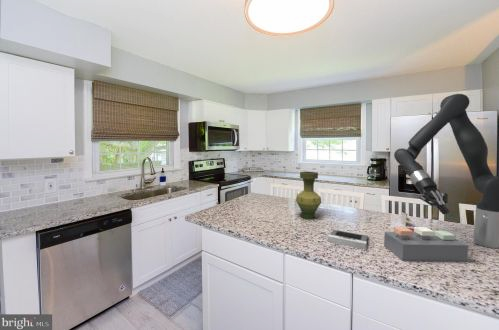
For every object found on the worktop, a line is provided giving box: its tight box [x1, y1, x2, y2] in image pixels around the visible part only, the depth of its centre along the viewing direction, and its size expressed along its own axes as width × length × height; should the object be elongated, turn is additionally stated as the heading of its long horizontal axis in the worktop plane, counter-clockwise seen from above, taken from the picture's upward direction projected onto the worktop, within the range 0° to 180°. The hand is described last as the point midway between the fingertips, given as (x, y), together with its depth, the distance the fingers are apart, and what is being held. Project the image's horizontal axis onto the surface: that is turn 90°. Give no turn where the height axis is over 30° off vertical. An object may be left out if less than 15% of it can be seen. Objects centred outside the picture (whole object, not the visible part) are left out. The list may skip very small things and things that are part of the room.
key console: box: [383, 231, 469, 263], centre depth 101 cm, size 26×14×7 cm, turn 88°
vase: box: [295, 171, 322, 221], centre depth 151 cm, size 16×16×30 cm
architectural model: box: [401, 211, 414, 227], centre depth 136 cm, size 3×7×8 cm, turn 167°
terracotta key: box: [393, 226, 413, 240], centre depth 101 cm, size 5×5×6 cm
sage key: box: [434, 230, 456, 240], centre depth 101 cm, size 5×5×6 cm
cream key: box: [414, 226, 435, 240], centre depth 101 cm, size 5×5×6 cm
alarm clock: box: [327, 228, 369, 250], centre depth 117 cm, size 17×5×16 cm
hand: (446, 213), depth 100 cm, fingers closed
